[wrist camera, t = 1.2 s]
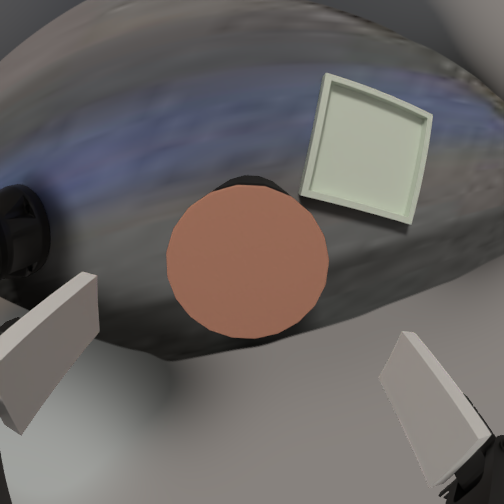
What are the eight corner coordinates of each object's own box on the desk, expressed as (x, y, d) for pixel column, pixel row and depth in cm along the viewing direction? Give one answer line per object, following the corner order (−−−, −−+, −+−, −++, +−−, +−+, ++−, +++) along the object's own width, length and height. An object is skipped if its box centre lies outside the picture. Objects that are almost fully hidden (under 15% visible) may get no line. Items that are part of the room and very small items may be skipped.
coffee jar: (281, 266, 37) (303, 350, 20) (200, 250, 37) (159, 322, 20) (301, 185, 34) (349, 206, 17) (215, 167, 34) (178, 169, 17)
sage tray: (298, 193, 35) (300, 195, 33) (322, 76, 30) (326, 72, 28) (404, 222, 36) (411, 224, 34) (426, 116, 31) (432, 114, 29)
